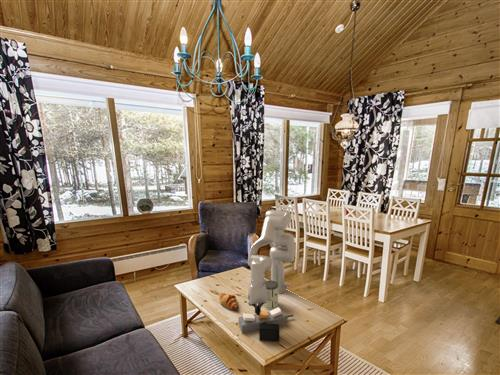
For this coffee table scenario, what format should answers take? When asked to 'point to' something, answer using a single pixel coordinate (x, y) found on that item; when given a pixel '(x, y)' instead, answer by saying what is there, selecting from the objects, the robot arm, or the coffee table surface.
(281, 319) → the power strip
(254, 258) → the robot arm
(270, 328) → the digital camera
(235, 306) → the croissant
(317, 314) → the coffee table surface
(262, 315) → the amber rocker
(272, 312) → the white rocker
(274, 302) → the coffee can
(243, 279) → the coffee table surface
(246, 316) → the block
